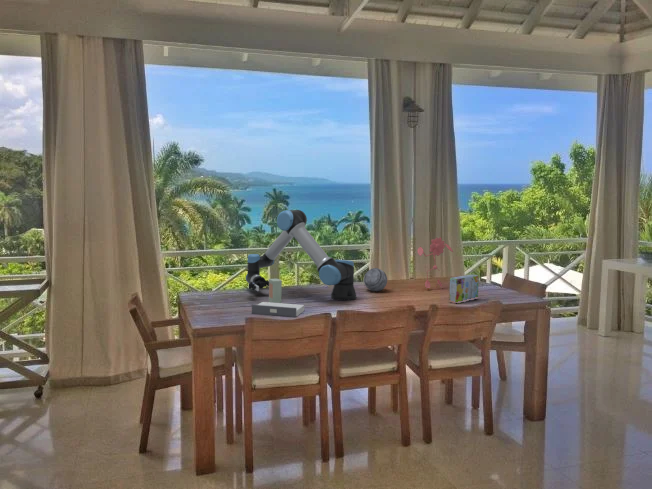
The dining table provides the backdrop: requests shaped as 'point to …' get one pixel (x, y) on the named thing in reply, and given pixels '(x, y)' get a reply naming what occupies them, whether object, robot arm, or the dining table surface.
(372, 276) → the decorative orb
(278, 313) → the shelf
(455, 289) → the snack box
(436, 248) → the figurine
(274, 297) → the carton
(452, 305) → the dining table surface
